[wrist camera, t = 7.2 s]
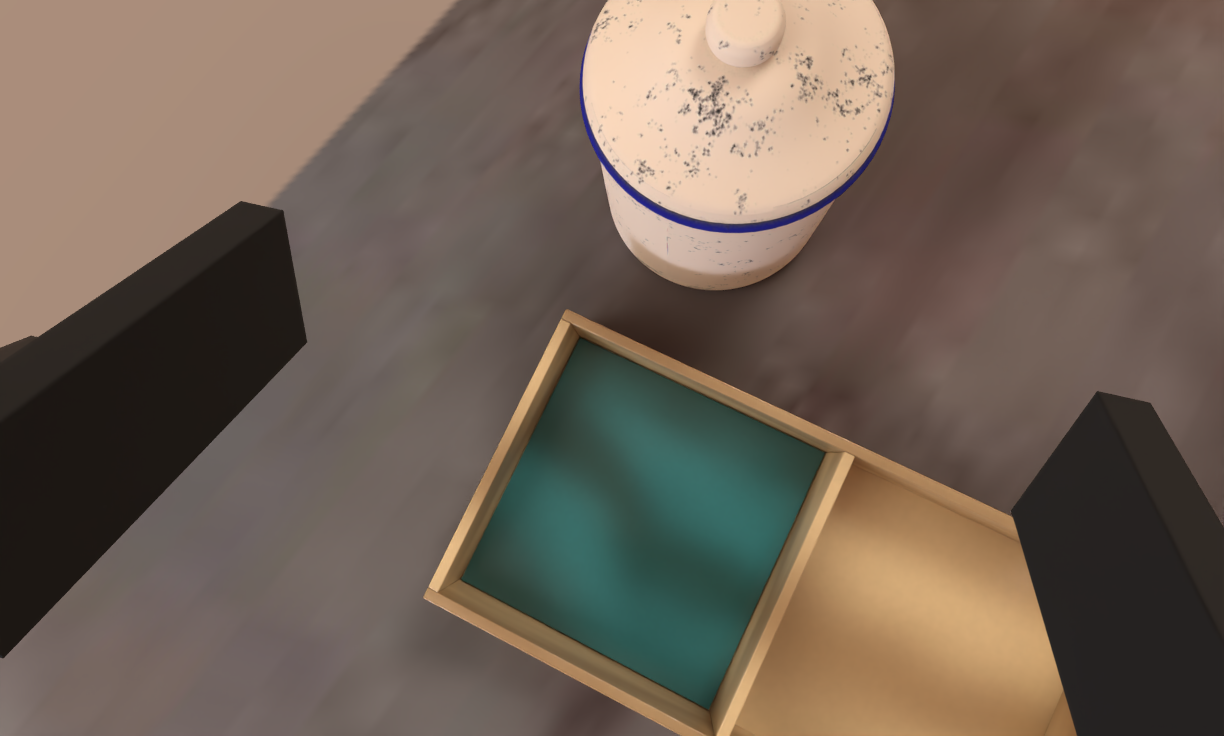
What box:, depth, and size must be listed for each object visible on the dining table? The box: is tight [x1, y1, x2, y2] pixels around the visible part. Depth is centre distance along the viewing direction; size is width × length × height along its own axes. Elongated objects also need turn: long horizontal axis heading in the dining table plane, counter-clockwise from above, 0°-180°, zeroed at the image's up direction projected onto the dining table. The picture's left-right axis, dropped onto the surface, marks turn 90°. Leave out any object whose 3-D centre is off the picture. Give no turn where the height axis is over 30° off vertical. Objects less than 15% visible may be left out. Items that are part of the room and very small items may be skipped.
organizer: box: [423, 309, 1077, 736], centre depth 26 cm, size 11×22×3 cm, turn 64°
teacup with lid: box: [580, 0, 895, 290], centre depth 24 cm, size 12×9×12 cm
